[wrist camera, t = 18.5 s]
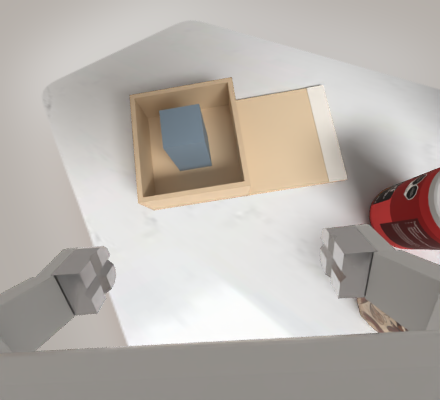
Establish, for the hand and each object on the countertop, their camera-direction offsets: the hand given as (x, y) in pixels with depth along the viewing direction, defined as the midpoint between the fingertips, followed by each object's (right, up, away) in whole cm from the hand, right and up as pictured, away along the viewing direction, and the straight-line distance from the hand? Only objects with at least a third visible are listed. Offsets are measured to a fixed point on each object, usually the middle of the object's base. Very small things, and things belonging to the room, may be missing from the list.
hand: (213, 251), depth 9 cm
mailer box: (+3, +9, +25) cm, 27 cm away
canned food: (+23, 0, +22) cm, 32 cm away
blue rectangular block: (-3, +9, +25) cm, 27 cm away
